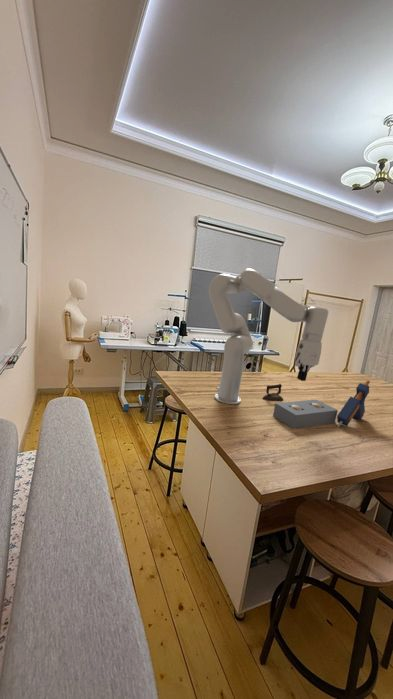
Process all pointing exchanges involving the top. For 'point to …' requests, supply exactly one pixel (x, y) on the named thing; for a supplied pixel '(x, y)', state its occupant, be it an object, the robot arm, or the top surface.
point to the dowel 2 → (316, 405)
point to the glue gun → (354, 405)
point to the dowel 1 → (296, 407)
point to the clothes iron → (273, 395)
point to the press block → (304, 414)
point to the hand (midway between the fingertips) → (301, 379)
